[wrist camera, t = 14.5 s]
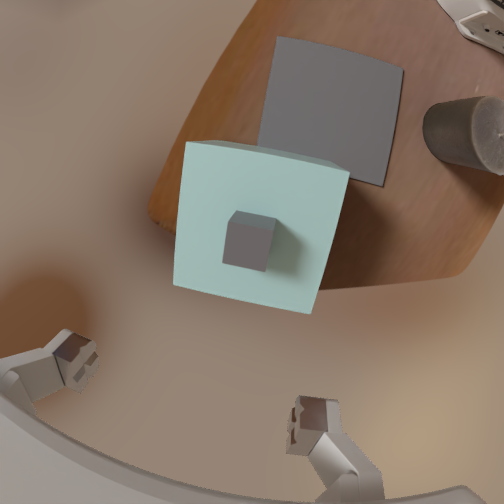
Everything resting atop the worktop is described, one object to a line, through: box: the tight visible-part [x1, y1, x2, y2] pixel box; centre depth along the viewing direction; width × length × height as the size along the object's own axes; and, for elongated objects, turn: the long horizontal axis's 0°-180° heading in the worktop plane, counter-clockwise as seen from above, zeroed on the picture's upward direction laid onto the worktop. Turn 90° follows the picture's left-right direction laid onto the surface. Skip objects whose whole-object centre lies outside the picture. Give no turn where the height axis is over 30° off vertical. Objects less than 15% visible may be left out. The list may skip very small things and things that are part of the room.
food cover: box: [173, 140, 350, 314], centre depth 34 cm, size 16×16×18 cm
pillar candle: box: [423, 96, 504, 176], centre depth 28 cm, size 10×10×15 cm
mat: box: [257, 36, 403, 186], centre depth 36 cm, size 19×19×1 cm
